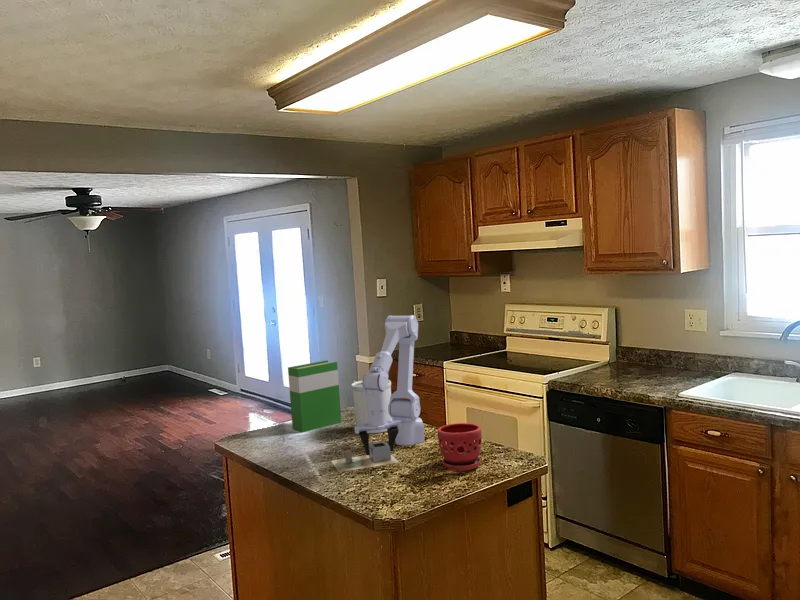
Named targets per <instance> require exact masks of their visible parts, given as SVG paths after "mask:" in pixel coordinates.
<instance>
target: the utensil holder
mask: <svg viewBox="0 0 800 600" xmlns="http://www.w3.org/2000/svg"><path fill="white" fill-rule="evenodd" d="M362 381H363V380H359V381H355V382H352V383H351V385H350V386H351V389H352V397H353V398H352V399H353V411H354V420H355V426H359V425H363V424H367V423H368V409H367V396H365V391H364V388H363V386H362ZM391 395H392V381H391V380H390V379H388V385H387V387H386V389H385V404H386V420H387V421H394V420H392V417H390V415H389V413H388V405H389V402H390V396H391ZM384 432H385V433H386V432H388V431H387V429H381V430H374V431H367V433H368V434H380V433H384Z"/></svg>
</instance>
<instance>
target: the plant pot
mask: <svg viewBox="0 0 800 600" xmlns="http://www.w3.org/2000/svg"><path fill="white" fill-rule="evenodd" d="M482 435H483V434H482V428H481V426H480V425H479V424H474V423H470V422H466V423H465V422H463V423H462V422H458V423H456V422H455V423H449V424H445V425H442V426H439V427H438V429H437V440H438V441H437V442H438V445H439V446H438V447H439V449H440V453H441V455H442V457H443V459H442V461H441V463H442V466H444V467H445V468H447V469H449V470H454V471H456V472H457V471H458V472H461V471H463V472H465V471H471V470H473V469H475V468H477V467H479V466H480V464H481V463H482V459H481V458H480V456H479V455H480V453H481V449H482V443H483V442H482V439H483V437H482Z"/></svg>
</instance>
